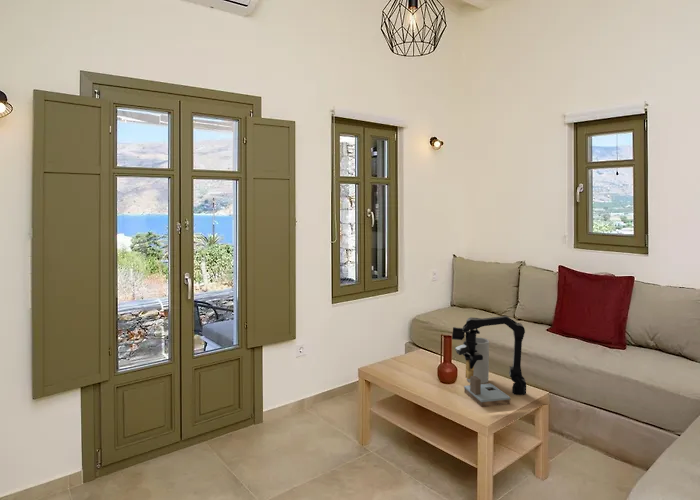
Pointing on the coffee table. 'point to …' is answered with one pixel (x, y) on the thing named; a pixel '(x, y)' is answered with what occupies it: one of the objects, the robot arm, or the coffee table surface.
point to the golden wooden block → (469, 370)
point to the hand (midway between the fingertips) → (469, 367)
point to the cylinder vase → (482, 361)
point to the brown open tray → (489, 403)
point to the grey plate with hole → (485, 391)
